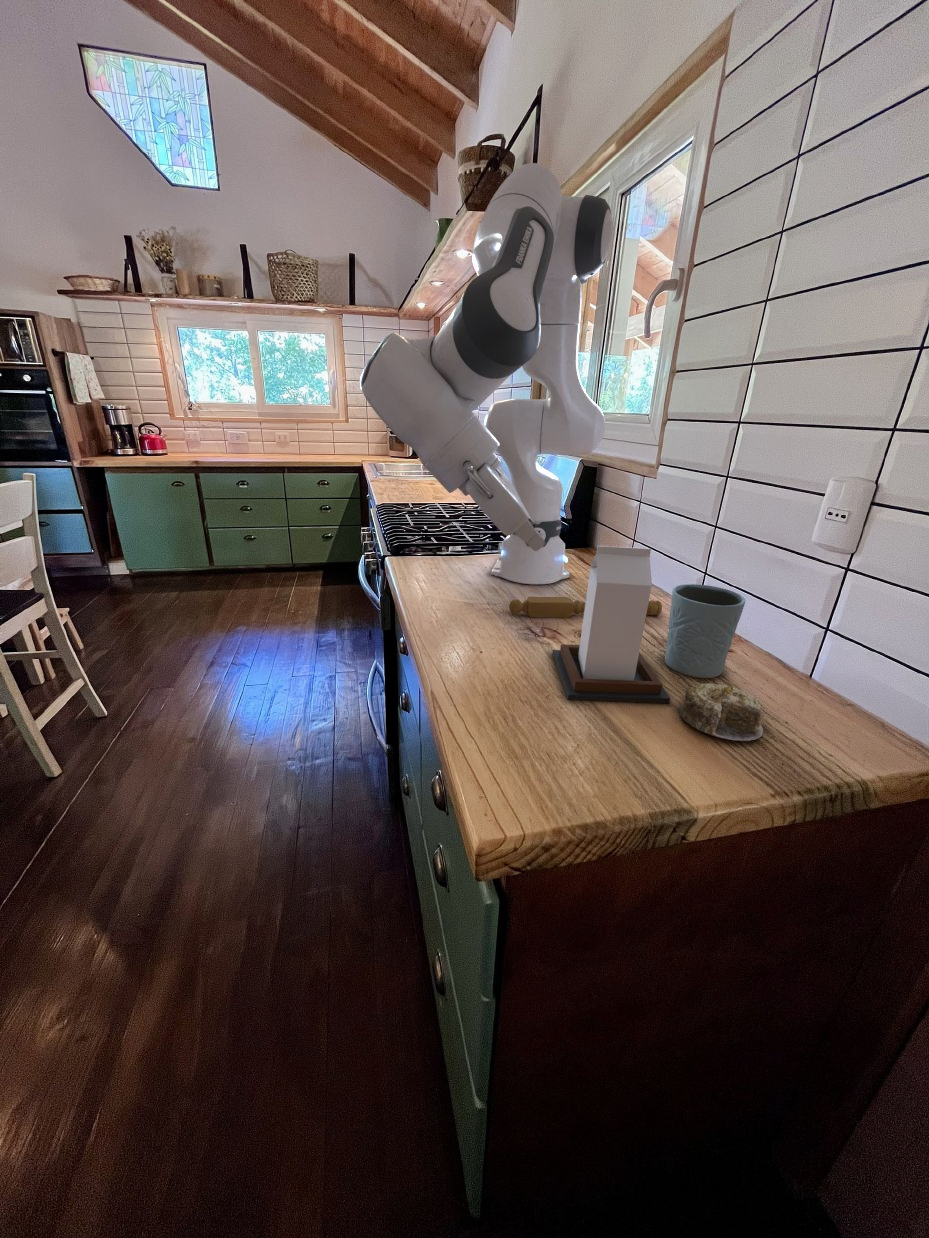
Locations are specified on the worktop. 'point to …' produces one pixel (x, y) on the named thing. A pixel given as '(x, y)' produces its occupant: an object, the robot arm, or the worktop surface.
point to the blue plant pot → (701, 629)
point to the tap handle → (561, 607)
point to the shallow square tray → (607, 681)
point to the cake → (723, 712)
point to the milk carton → (615, 613)
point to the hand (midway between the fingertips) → (535, 537)
